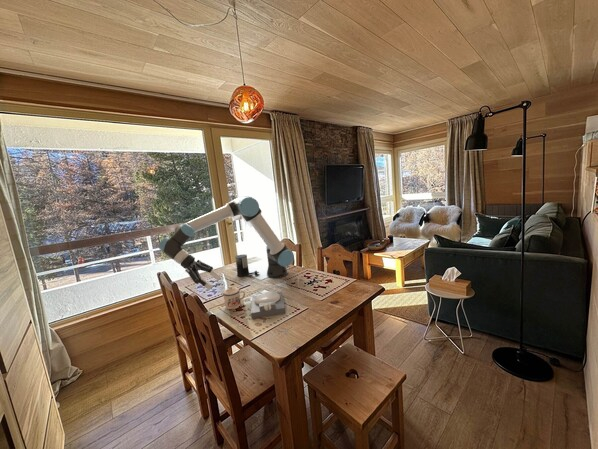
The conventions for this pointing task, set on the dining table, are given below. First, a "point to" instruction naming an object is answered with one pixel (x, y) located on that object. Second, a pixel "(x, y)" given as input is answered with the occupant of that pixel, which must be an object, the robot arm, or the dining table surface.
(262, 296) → the kitchen scale
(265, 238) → the robot arm
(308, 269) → the dining table surface
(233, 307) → the teacup with lid
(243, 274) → the milk frother
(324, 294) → the dining table surface
